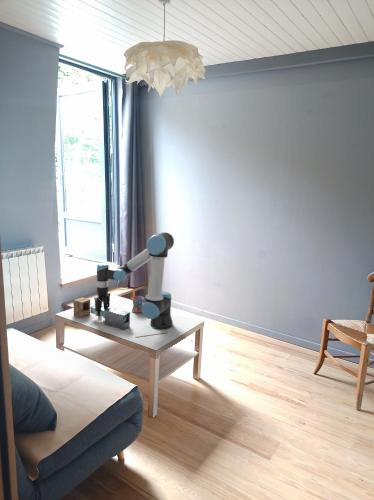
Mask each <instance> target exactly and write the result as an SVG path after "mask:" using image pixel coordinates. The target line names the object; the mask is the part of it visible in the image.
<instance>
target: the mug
mask: <svg viewBox="0 0 374 500" xmlns="http://www.w3.org/2000/svg"><path fill="white" fill-rule="evenodd" d="M131 300H132V308H131V311H132V313H137V314H139V313H142V310H141V308H142V305H143V304H144V303H145V296H142V295H135V296H132V297H131Z"/></svg>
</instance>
